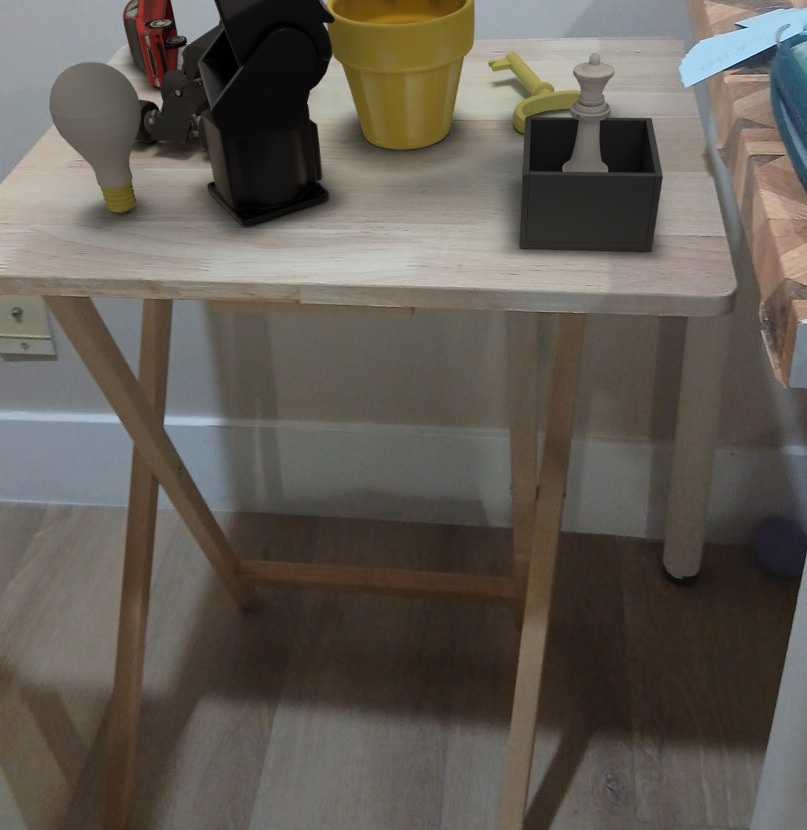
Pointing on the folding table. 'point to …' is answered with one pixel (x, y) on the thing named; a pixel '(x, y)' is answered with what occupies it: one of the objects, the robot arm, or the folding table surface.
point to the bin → (590, 187)
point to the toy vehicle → (180, 99)
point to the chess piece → (589, 115)
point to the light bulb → (99, 125)
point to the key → (533, 90)
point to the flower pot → (402, 65)
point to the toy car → (152, 37)
